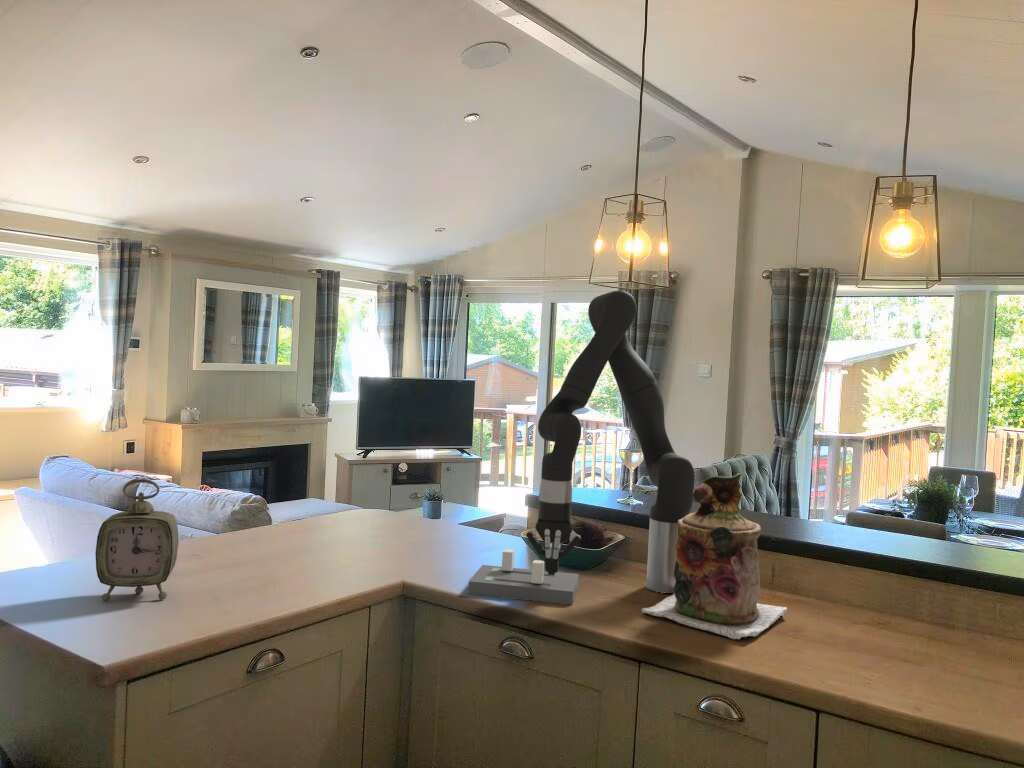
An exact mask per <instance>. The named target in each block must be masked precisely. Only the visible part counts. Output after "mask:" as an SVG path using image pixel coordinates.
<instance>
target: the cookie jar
mask: <svg viewBox="0 0 1024 768" xmlns="http://www.w3.org/2000/svg"><path fill="white" fill-rule="evenodd" d="M741 476H742V473H736V474H734V475H733V476H724V475H713V476H710V477H707V478H705V480H704V481H703V483H701V484H699V486H696V487H695V488H694V493H693V500H694V501H695V502H697V503H698V504H699V505H700V506H699V508H698V509H697V510H696V511H694V512H690V513H689V514H688V515H686V516H685V517H684V518H682V519H679V520H678V540H677V543H676V550H677V553H676V556H677V560H676V564H675V569H674V577H675V580H676V583H675V586H674V592H675V594H670V595H669V596H667V597H665V598H664V599H662V600H661V601H660V602H657V603H656V604H655V605H652V606H650V607H642V608H641V613H643V614H648V615H650V616H655V617H660V618H667V619H669V620H671V621H675V622H676V623H678V624H682V625H685V626H688V627H692V628H695V629H699V630H703V631H705V632H710V633H713V634H717V635H720V636H724V637H728V638H730V639H732V640H740V639H741V638H747V637H757V636H758V635H760V634H761V633H762V632H763V631H765V630H767V629H768V628H769V627H771V625H773V624H774V623H776V621H778V619H779V618H781V617H780V616H782V615H783V616H784V614H785V613H786V612H787V611H788V608H787V606H779V605H778V606H776V605H771V604H763V603H758V600H759V599H760V594H761V593H760V592H761V581H760V580H761V577H760V563H759V555H758V538H759V537H760V536H761V533H762V528H761V525H760V524H759V523H757V522H753V521H751V520H748V519H747V518H745V517H744V516H742V515H741V513H740V512H739V510H738V507H739V504H740V501H741V498H742V497H743V493H741V491H740V488H741V484H740V479H741Z"/></svg>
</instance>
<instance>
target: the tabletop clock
mask: <svg viewBox="0 0 1024 768" xmlns="http://www.w3.org/2000/svg"><path fill="white" fill-rule="evenodd" d="M137 483H138V484H139V483H140V484H141V483H145V484H150V485H153V486H154V488H156V492H155V493H153V494H150V495H145V493H144V492H142V491H141V492H139V493H138V494H137V495H132V494H129V493H128V492H127V491H126V489H127V487H129V486H130V485H132V484H137ZM122 492H123V495H125V496H126V497H127V498H129V499H133V500H135V501H133V502H131V503H130V504H129V506H128V507H127V509H126V511H121V512H117V513H114V514H112V515H110V516H109V517H108V518H106V519H105V520H104V521H103V522H102V523H101V525H100V527H99V529H98V533H97V538H96V546H95V568H96V574H97V575H96V576H97V579H98V580H99V582H100V584H103V585H106V586H110V587H109V588H108V591H107V592H106V593H103V594H102V595H101V600H102V601H103V602H108V601H110V600H111V597H112V596H111V593H112V592H113V590H114V588H115V587H123V588H124V587H126V588H135V587H136V588H135V589H134V593H135V594H137V595H141V594H143V592H144V587H149V586H155V585H156V588H157V590H158V592H159V593H158V594H157V596H158V599H159V600H160V601H161V600H165V599H166V598H167V595H168V594H167V592H166V591H163V588H162V584H163V583H165V582H166V581H167V580H168V578H169V576H170V575H171V574H172V572H173V569H174V567H175V566H176V561H177V558H178V551H179V550H178V549H179V543H180V542H179V527H178V521H177V519H176V516H175V515H174V514H172V513H170V512H166V511H160V510H159V511H158V510H155V508H154V505H153V504H152V503H151V502H150V501H147V500H149V499H152V498H155V497H156V496H158V495H159V493H160V487H159V485H158V484H157V483H156V482H155V481H153V480H151V479H145V478H143V479H138V478H137V479H132V480H130V481H128V482H126V484H124V486H123V487H122Z"/></svg>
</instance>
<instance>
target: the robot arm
mask: <svg viewBox="0 0 1024 768" xmlns="http://www.w3.org/2000/svg"><path fill="white" fill-rule="evenodd" d="M587 311H588V313H587V314H588V320H589V323H590V326H591V327H592V329H593V331H594V335H593V337H592V338H591V339H590V341H589V342H588V344H587V345H586V347H585V348H584V349H583V350H582V352H580V354H579V356H578V357H577V358H576V360H575V361H574V362H573V363H572V365H571V366H570V368H569V370H568V372H567V374H566V376H565V379H564V380H563V383H562V385H561V386H560V389H559V391H558V392H557V393H556V395H555V396H554V397H553V398H552V399H551V401H550V402H549V404H547V406H545V409H544V410H543V411H542V412H541V415H540V417H539V419H538V423H537V424H538V425H537V429H538V430H537V431H538V434H539V436H540V438H542V439H543V440H544V441H547V442H553V443H554V445H553V448H552V451H551V452H548V453H546V454H544V455H543V457H542V462H541V474H540V475H541V477H540V485H539V492H538V512H537V521H536V523H535V525H534V526H535V527H534V528H532V529H530V530H528V531H527V532H526V534H525V536H526V537H527V539H528V540H529V542H530V543H531V545H532V547H533V548H534V549H535V551H536V552H537V554H538V555H539V556H543V557H545V566H544V571H546V572H548V575H555V573H557V572H559V566H560V565H559V563H560V561H559V560H560V558H565V557H567V555H568V554H569V553H570V552H571V551H572V550H573V549H574V548H575V547H576V545H577V544H578V543H579V542H580V540H581V538H582V537H581V535H580V534H579V533H578V534H577V533H576V531H574V530H573V529H574V528H573V525H572V521H571V519H572V503H573V502H572V500H573V464H574V459H575V457H576V454H577V451H578V447H579V444H580V440H581V436H582V426H581V421H580V420H579V418H578V417H577V416H576V415H575V414H573V413H574V412H575V411H577V410H580V409H583V408H585V407H586V406H587V404H588V402H589V400H590V398H591V396H592V393H593V391H594V388H595V387H596V385H597V382H598V380H599V379H600V377H601V374H602V372H603V371H604V370H605V367H606V365H607V364H609V367H610V370H611V372H612V375H613V377H614V380H615V382H616V385H617V389H618V391H619V394H620V397H621V399H622V402H623V405H624V408H625V409H626V412H627V414H628V417H629V420H630V422H631V425H632V428H633V430H634V431H635V434H636V436H637V439H638V442H639V445H640V448H641V452H642V456H643V459H644V464H645V468H646V472H647V475H648V478H649V480H650V482H652V485H654V486H655V487H656V488H657V490H656V491H657V492H656V500H655V502H654V504H653V505H652V506H651V507H650V512H649V527H648V528H649V529H648V546H647V547H648V548H647V563H646V566H647V567H646V578H645V579H646V581H645V583H646V584H645V586H646V589H648V590H649V589H650V591H651V590H653V591H652V592H654V591H657V592H656V593H658V592H663V593H664V592H665V593H675V592H674V586H675V583H676V580H675V577H674V569H675V564H676V560H677V556H676V553H677V550H676V543H677V540H678V520H679V519H682V518H684V517H685V516H686V515H688V514H690V513H691V511H692V508H693V503H694V497H693V493H694V491H695V469H694V467H693V464H692V462H691V461H690V460H689V459H687V458H686V457H684V456H681V455H678V454H677V453H676V451H675V450H674V448H673V445H672V444H671V441H670V439H669V437H668V434H667V431H666V430H667V429H666V423H665V407H664V406H665V405H664V400H663V396H662V393H661V390H660V388H659V384H658V381H657V380H656V377H655V375H654V373H653V371H652V370H651V369H650V367H649V366H648V365H647V363H646V362H645V361H644V360H643V359H642V358H641V357H640V355H639V354H638V353H637V351H635V350H634V348H633V346H632V345H631V343H630V340H629V338H628V335H627V331H628V330H629V329H630V327H631V326H632V324H633V322H634V320H635V319H636V316H637V313H638V312H637V311H638V306H637V302H636V299H635V298H634V296H633V295H632V294H631V293H630V292H627V291H626V290H612V291H609V292H607V293H603V294H601V295H598V296H596V297H594V298H593V299H591V301H590V303H589V305H588V310H587ZM538 535H539V536H540V537H539V538H541V540H542V541H543V542H544V546H543V545H542V543H541V542H540V540H539V539H538V538H537V537H538ZM568 537H569V542H568V544H567V545H566V546H565V547H564V548H563V550H562V549H561V545H562V543H564V541H566V539H568ZM663 593H662V594H663Z"/></svg>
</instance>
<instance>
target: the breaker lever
mask: <svg viewBox="0 0 1024 768" xmlns="http://www.w3.org/2000/svg"><path fill="white" fill-rule="evenodd" d="M501 556H502V559H501V567H502V570H504V571H512V570H513V568H515V566H514V565H515V549H513V548H511V549H510V548H504V549H503V551H502V555H501Z"/></svg>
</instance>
